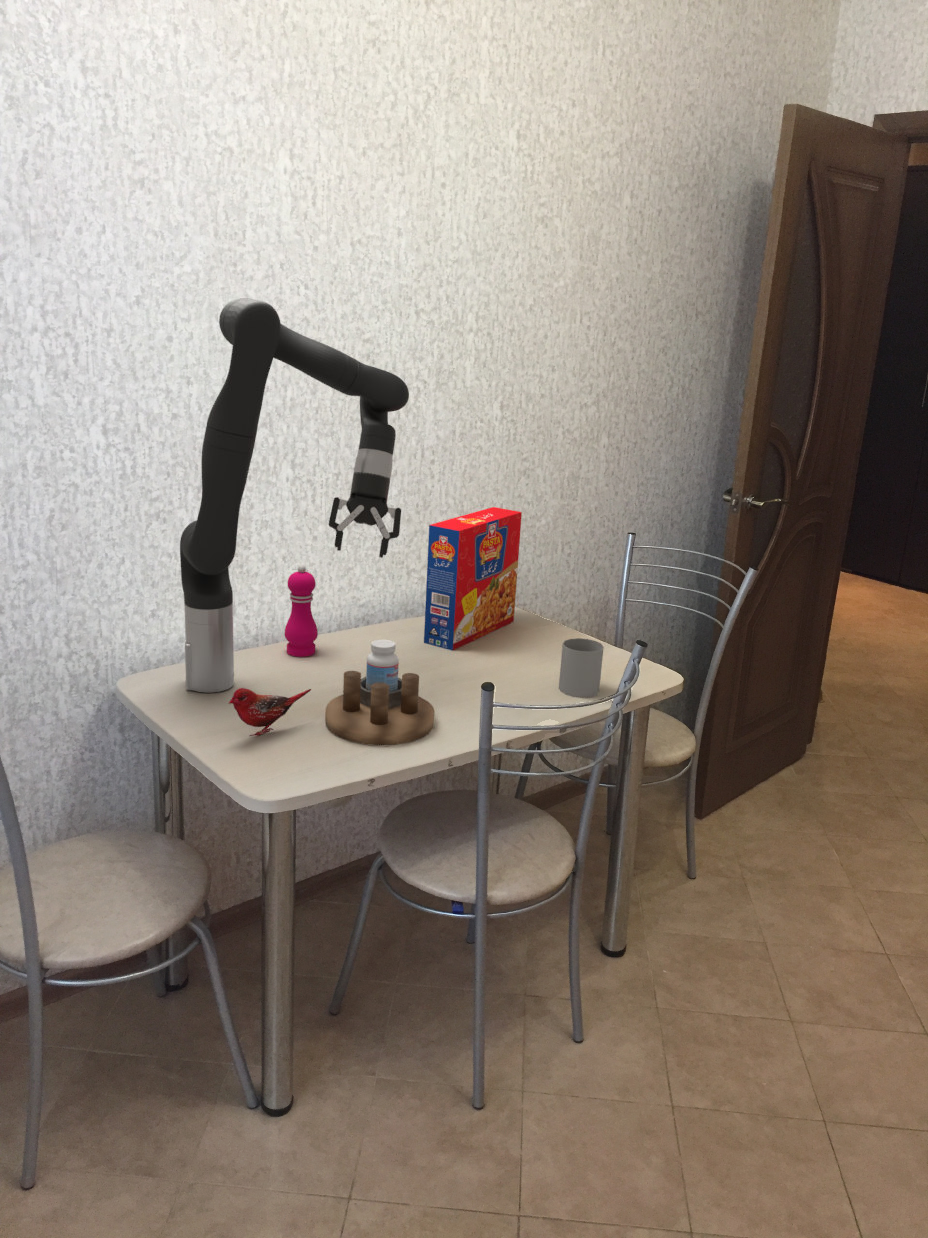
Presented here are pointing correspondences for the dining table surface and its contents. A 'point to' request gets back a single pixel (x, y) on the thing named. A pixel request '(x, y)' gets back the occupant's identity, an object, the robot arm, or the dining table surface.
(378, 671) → the pill bottle
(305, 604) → the pepper mill
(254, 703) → the decorative bird figurine
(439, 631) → the pasta box
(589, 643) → the cup
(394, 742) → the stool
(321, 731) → the dining table surface
